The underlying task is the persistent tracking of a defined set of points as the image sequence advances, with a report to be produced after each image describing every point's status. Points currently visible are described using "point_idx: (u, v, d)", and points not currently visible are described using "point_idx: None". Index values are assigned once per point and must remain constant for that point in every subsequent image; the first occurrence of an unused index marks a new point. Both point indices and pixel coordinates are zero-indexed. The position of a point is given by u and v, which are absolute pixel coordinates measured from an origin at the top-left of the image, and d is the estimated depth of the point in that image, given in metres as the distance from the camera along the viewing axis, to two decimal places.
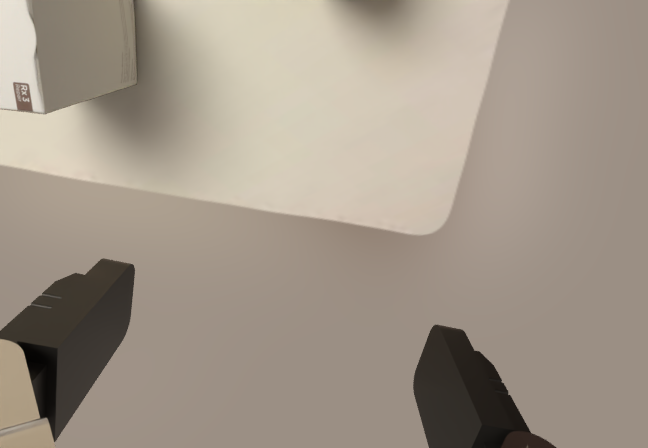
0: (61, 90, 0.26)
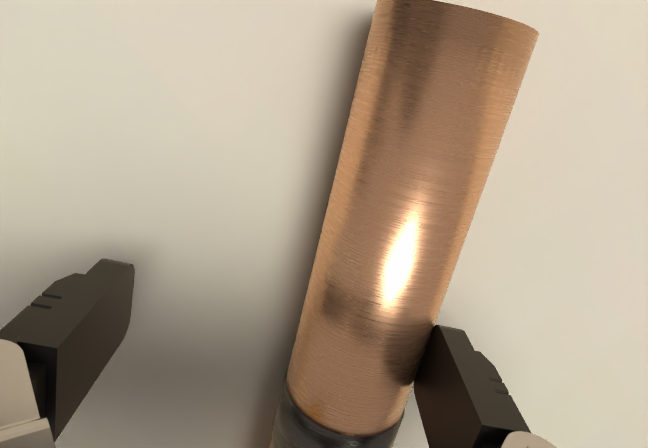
0: None
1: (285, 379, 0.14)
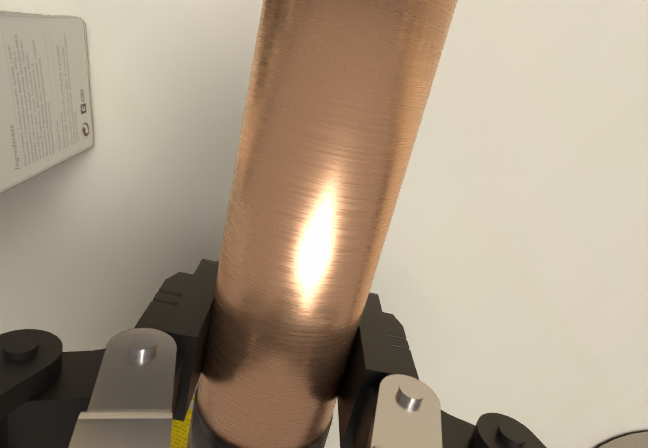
0: None
1: None
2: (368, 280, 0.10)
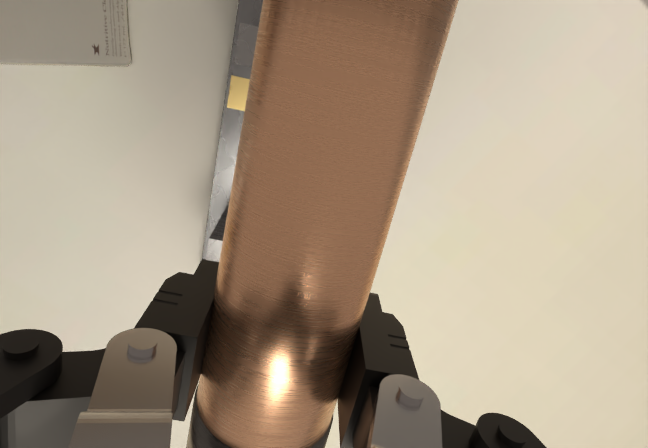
0: None
1: None
2: (369, 280, 0.10)
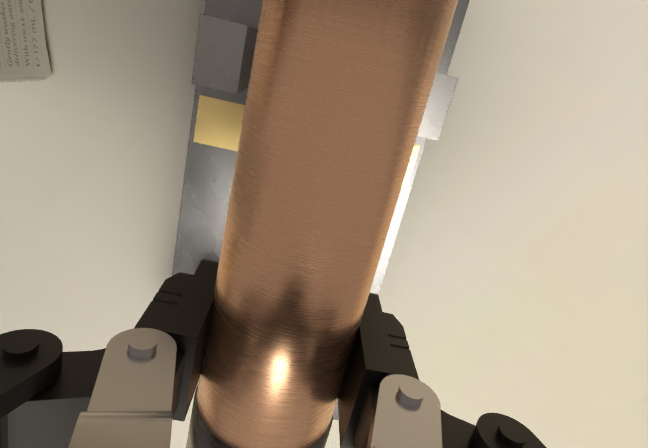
0: None
1: None
2: (369, 280, 0.10)
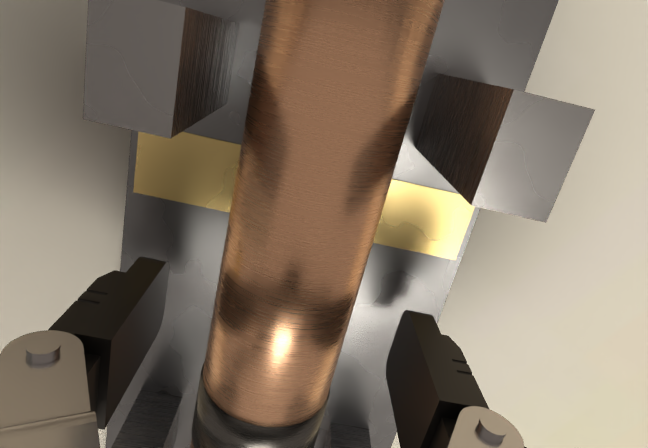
0: None
1: None
2: (362, 263, 0.11)
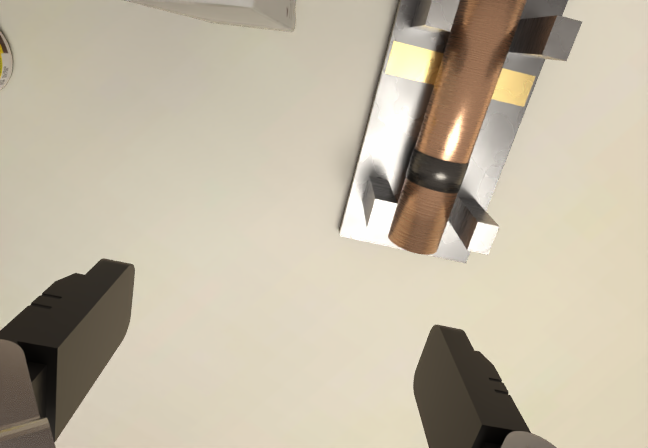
0: None
1: None
2: (493, 92, 0.28)
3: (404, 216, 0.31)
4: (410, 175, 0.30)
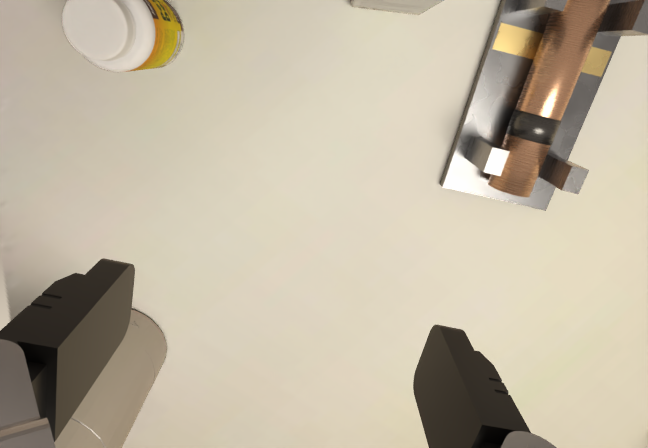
0: None
1: None
2: None
3: (507, 165, 0.38)
4: (513, 131, 0.37)
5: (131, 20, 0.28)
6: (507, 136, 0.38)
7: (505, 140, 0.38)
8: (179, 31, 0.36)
